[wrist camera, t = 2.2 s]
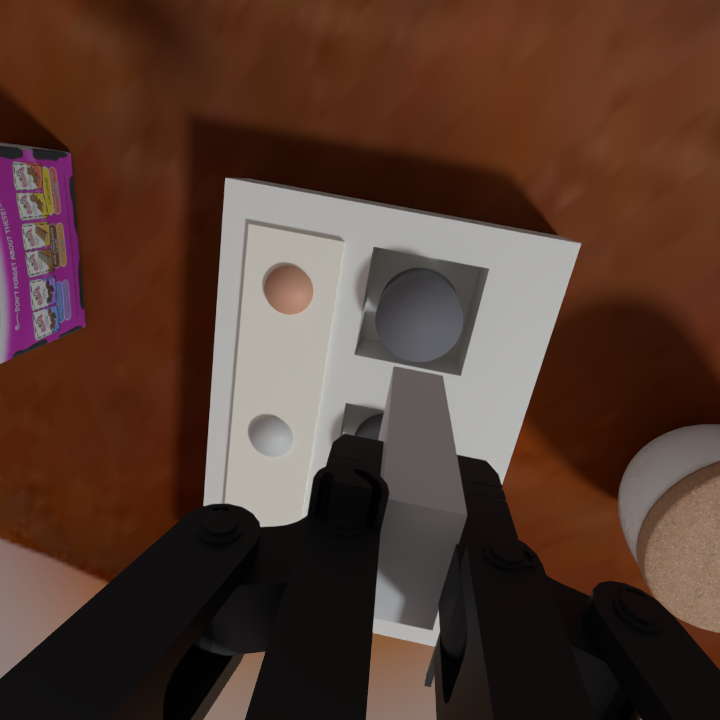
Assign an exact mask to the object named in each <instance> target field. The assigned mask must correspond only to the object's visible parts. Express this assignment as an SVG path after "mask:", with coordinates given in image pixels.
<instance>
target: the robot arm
mask: <svg viewBox="0 0 720 720" xmlns="http://www.w3.org/2000/svg"><path fill="white" fill-rule="evenodd" d="M438 611H439V623H440V633H439V636H438V639H437V643H436V646H435V650H434V652H433V655H432V659H431V662H430V665H429V668H428V672H427V675H426V680H425V686H428V687H431V684H432V680H433V678H434V675H435V692H436V693H435V694H436V715H437V720H640V719H642V720H720V670H719V669H718V668H717V666H716V665H715V664H714V663H713V662H712V661H711V659H710V658H709V657H708V656H707V655H706V654H705V652H704V651H703V650H702V649H701V648H700V647H699V645H698V644H697V643H696V642H695V641H694V640H693V638H692V637H691V636H690V635H689V634H688V633H687V631H686V630H685V629H684V628H683V627H682V625H681V624H680V623H679V622H678V621H677V620H676V618H675V617H674V616H673V615H672V614H671V613H670V612H669V611H668V610H667V609H666V608H665V607H664V606H663V605H662V604H661V603H660V602H659V601H657V600H656V599H654V598H653V597H651V596H650V595H648V594H646V593H645V592H643V591H642V590H640V589H637V588H635V587H632V586H630V585H628V584H625V583H620V582H614V581H608V582H602V583H599V584H598V585H597V586H596V587H595V588H594V589H593V591H592V593H591V596H588V595H586V594H584V593H581V592H579V591H577V590H575V589H572V588H570V587H568V586H566V585H563V584H561V583H559V582H557V581H555V580H553V579H552V578H550V577H548V576H547V575H546V574H545V571H544V568H543V565H542V563H541V561H540V560H539V558H538V556H537V555H536V553H535V552H534V551H533V550H531V549H530V548H529V547H528V546H527V545H526V544H525V543H523V542H521V541H520V540H518V536H517V533H516V530H515V527H514V524H513V520H512V517H511V514H510V511H509V507H508V504H507V502H506V498H505V494H504V491H503V490H502V485H501V481H500V478H499V475H498V473H497V472H496V471H495V470H494V469H493V468H492V466H491V465H490V464H489V463H488V462H487V461H486V460H481V459H476V458H471V457H466V456H461V455H457V453H456V448H455V442H454V436H453V431H452V425H451V419H450V414H449V408H448V402H447V397H446V391H445V385H444V380H443V376H442V375H437V374H432V373H427V372H422V371H416V370H411V369H406V368H401V367H396V366H394V367H393V371H392V376H391V381H390V386H389V390H388V395H387V400H386V405H385V410H384V414H383V419H382V424H381V429H380V433H379V438H378V440H374V439H369V438H364V437H359V436H354V435H349V434H343V435H342V436H340V437H339V438H338V439H337V440H335V441H334V442H333V443H332V447H331V450H330V453H329V457H328V460H327V463H326V467H324V468H322V469H320V470H318V472H317V473H316V474H315V476H314V477H313V483H312V489H311V495H310V501H309V508H308V514H307V516H306V517H304V518H303V519H301V520H299V521H297V522H295V523H291V524H288V525H282V526H271V527H260V522H259V521H258V520H257V518H256V517H255V516H254V514H253V513H251V512H250V511H248V510H246V509H245V508H243V507H240V506H236V505H232V504H210V505H207V506H203V507H199V508H197V509H195V510H194V511H192V512H191V513H189V514H187V515H186V516H185V517H183V518H182V519H181V520H180V521H179V522H178V523H177V524H176V525H174V526H173V527H172V528H171V529H170V530H169V531H168V532H166V533H165V534H164V535H163V536H162V537H161V538H160V539H159V540H157V541H156V542H155V543H154V544H153V545H152V546H151V547H149V548H148V549H147V550H146V551H145V552H144V553H143V554H141V555H140V556H139V557H138V558H137V559H136V560H135V561H134V562H132V563H131V564H130V565H129V566H128V567H127V568H126V569H124V570H123V571H122V572H121V573H120V574H119V575H118V576H117V577H115V578H114V579H113V580H112V581H111V582H110V583H109V584H107V585H106V586H105V587H104V588H103V589H102V590H101V591H100V592H98V593H97V594H96V595H95V596H94V597H93V598H92V599H90V600H89V601H88V602H87V603H86V604H85V605H84V606H82V607H81V608H80V609H79V610H78V611H77V612H76V613H75V614H73V616H71V617H70V618H69V619H68V620H67V621H65V622H64V623H63V624H62V625H61V626H60V627H59V628H58V629H56V630H55V631H54V632H53V633H52V634H51V635H50V636H48V637H47V638H46V639H45V640H44V641H43V642H42V643H41V644H40V645H38V646H37V647H36V648H35V649H34V650H33V651H31V652H30V653H29V654H28V655H27V656H26V657H25V658H24V659H22V660H21V661H20V662H19V663H18V664H17V665H15V666H14V667H13V668H12V669H11V670H10V671H9V672H8V673H6V674H5V675H4V676H3V677H2V678H1V679H0V720H203V719H204V718H205V716H206V714H207V713H208V711H209V710H210V708H211V706H212V705H213V704H214V702H215V701H216V699H217V697H218V696H219V694H220V693H221V691H222V690H223V688H224V687H225V685H226V683H227V682H228V681H229V679H230V677H231V676H232V674H233V673H234V671H235V670H236V668H237V667H238V665H239V664H240V662H241V660H242V658H243V655H244V654H247V653H256V652H265V651H266V652H265V656H264V659H263V662H262V665H261V669H260V672H259V675H258V679H257V682H256V685H255V688H254V692H253V695H252V698H251V701H250V705H249V708H248V712H247V715H246V718H245V720H366V709H367V695H368V684H369V670H370V658H371V645H372V633H373V621H374V618H376V619H381V620H385V621H390V622H395V623H400V624H404V625H409V626H414V627H418V628H423V629H428V630H433V627H434V624H435V620H436V617H437V614H438Z"/></svg>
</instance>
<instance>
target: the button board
mask: <svg viewBox="0 0 720 720" xmlns="http://www.w3.org/2000/svg"><path fill="white" fill-rule="evenodd" d="M580 246H581V243H578V242H575V241H572V240H569V239H567V238H564V237H561V236H558V235H552V234H547V233H542V232H536V231H531V230H525V229H520V228H514V227H509V226H504V225H498V224H493V223H487V222H482V221H477V220H471V219H466V218H460V217H455V216H450V215H444V214H439V213H433V212H428V211H423V210H417V209H412V208H406V207H401V206H396V205H390V204H385V203H379V202H374V201H369V200H363V199H358V198H352V197H347V196H342V195H336V194H331V193H325V192H320V191H315V190H309V189H304V188H298V187H293V186H287V185H282V184H277V183H271V182H266V181H260V180H255V179H246V178H225V189H224V204H223V219H222V234H221V249H220V264H219V279H218V294H217V309H216V324H215V339H214V354H213V369H212V384H211V399H210V414H209V429H208V444H207V459H206V474H205V489H204V504H203V506H207V505H210V504H232V505H236V506H240V507H243V508H245V509H246V510H248V511H250V512H251V513H253V514H254V516H255V517H256V518H257V520H258V521H259V522H260V527H271V526H282V525H288V524H291V523H295V522H297V521H299V520H301V519H303V518H304V517H306V516H307V514H308V508H309V501H310V495H311V489H312V483H313V477H314V476H315V474H316V473H317V472H318V470H320V469H322V468H324V467H326V463H327V460H328V457H329V453H330V450H331V447H332V443H333V442H334V441H335V440H337V439H338V438H339V437H340V436H342V435H343V434H349V435H355V433H356V430H357V429H358V427H359V426H360V425H361V423H362V422H364V421H365V420H366V419H368V418H369V417H371V416H374V415H377V414H382V413H384V410H385V405H386V400H387V395H388V390H389V386H390V381H391V376H392V371H393V367H394V366H396V367H401V368H406V369H411V370H416V371H422V372H427V373H432V374H437V375H442V376H443V380H444V385H445V391H446V397H447V402H448V408H449V414H450V419H451V425H452V431H453V436H454V442H455V448H456V453H457V455H461V456H466V457H471V458H476V459H481V460H486V461H487V462H488V463H489V464H490V465H491V466H492V468H493V469H494V470H495V471H496V472H497V473H498V475H499V478H500V481H501V485H502V484H503V481H504V478H505V474H506V471H507V468H508V465H509V462H510V459H511V456H512V453H513V450H514V447H515V444H516V441H517V438H518V435H519V432H520V429H521V426H522V423H523V420H524V416H525V413H526V410H527V407H528V404H529V401H530V398H531V395H532V392H533V389H534V386H535V383H536V380H537V377H538V374H539V371H540V368H541V365H542V362H543V359H544V355H545V352H546V349H547V346H548V343H549V340H550V337H551V334H552V331H553V328H554V325H555V322H556V319H557V316H558V313H559V310H560V307H561V304H562V301H563V297H564V294H565V291H566V288H567V285H568V282H569V279H570V276H571V273H572V270H573V267H574V264H575V261H576V258H577V255H578V252H579V249H580ZM411 268H427V269H431V270H434V271H437V272H438V273H440V274H442V275H443V276H444V277H446V278H447V279H448V280H449V281H450V283H451V284H452V285H453V287H454V289H455V291H456V294H457V296H458V299H459V302H460V305H461V307H462V311H463V327H462V331H461V334H460V337H459V339H458V340H457V342H456V344H455V345H454V346H453V347H452V348H451V349H450V350H449V351H448V352H447V353H446V354H444V355H443V356H441V357H439V358H437V359H434V360H431V361H427V362H411V361H407V360H403V359H401V358H399V357H397V356H395V355H394V354H392V353H391V352H390V351H389V350H388V349H386V347H385V346H384V345H383V344H382V342H381V340H380V338H379V336H378V334H377V330H376V325H375V316H376V311H377V307H378V304H379V301H380V297H381V294H382V292H383V290H384V288H385V286H386V285H387V283H388V282H389V281H390V280H391V279H392V278H393V277H394V276H396V275H397V274H399V273H400V272H402V271H405V270H408V269H411ZM373 633H376V634H381V635H385V636H390V637H394V638H399V639H403V640H407V641H412V642H416V643H421V644H425V645H430V646H434V647H435V646H436V643H437V639H438V636H439V633H440V623H439V611H438V614H437V617H436V620H435V624H434V627H433V630H428V629H423V628H418V627H414V626H409V625H404V624H400V623H395V622H390V621H385V620H381V619H376V618H374V621H373Z"/></svg>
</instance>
